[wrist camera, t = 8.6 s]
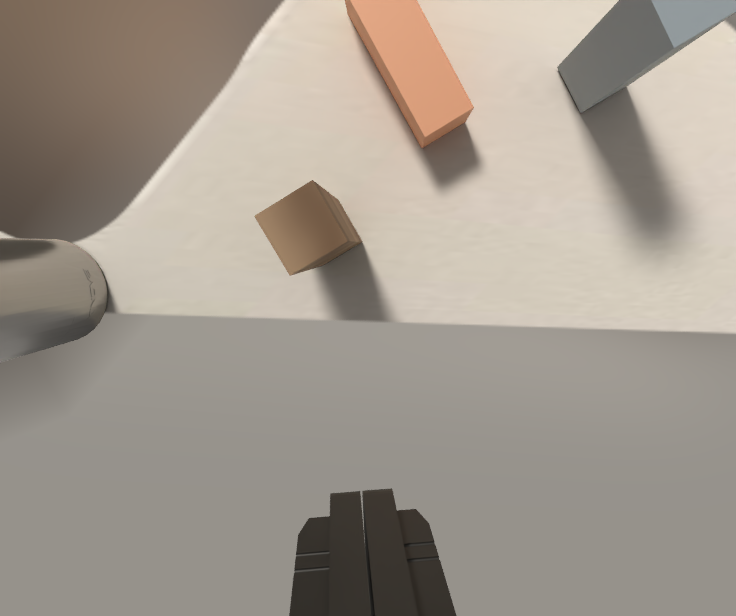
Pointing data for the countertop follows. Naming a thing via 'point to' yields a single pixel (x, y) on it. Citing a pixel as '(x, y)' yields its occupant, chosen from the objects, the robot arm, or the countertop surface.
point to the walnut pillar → (308, 228)
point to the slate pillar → (635, 43)
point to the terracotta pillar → (412, 65)
